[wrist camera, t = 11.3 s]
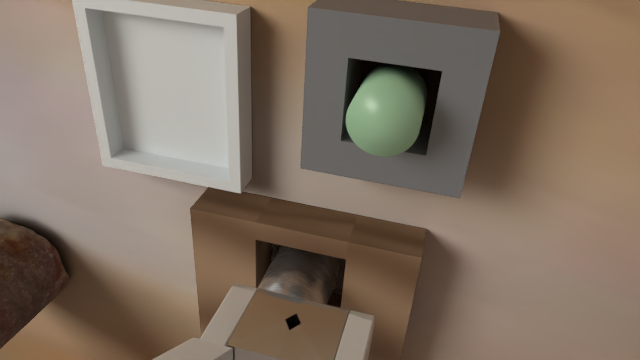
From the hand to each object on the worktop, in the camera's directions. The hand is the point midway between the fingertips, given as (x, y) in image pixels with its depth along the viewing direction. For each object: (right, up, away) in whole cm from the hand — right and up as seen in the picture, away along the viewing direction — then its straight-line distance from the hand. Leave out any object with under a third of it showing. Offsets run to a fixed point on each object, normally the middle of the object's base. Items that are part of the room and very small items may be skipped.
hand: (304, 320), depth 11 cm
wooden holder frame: (0, -4, +20) cm, 21 cm away
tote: (-7, +8, +15) cm, 18 cm away
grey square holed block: (+4, +7, +12) cm, 15 cm away
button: (+3, +7, +11) cm, 13 cm away
